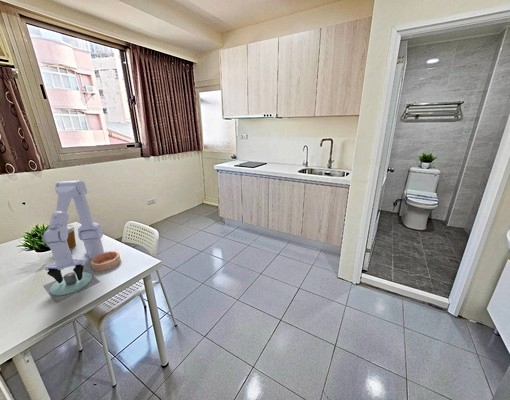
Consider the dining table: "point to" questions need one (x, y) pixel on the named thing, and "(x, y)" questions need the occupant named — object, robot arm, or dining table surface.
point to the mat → (60, 298)
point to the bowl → (105, 261)
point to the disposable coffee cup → (71, 236)
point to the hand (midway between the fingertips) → (70, 280)
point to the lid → (70, 284)
